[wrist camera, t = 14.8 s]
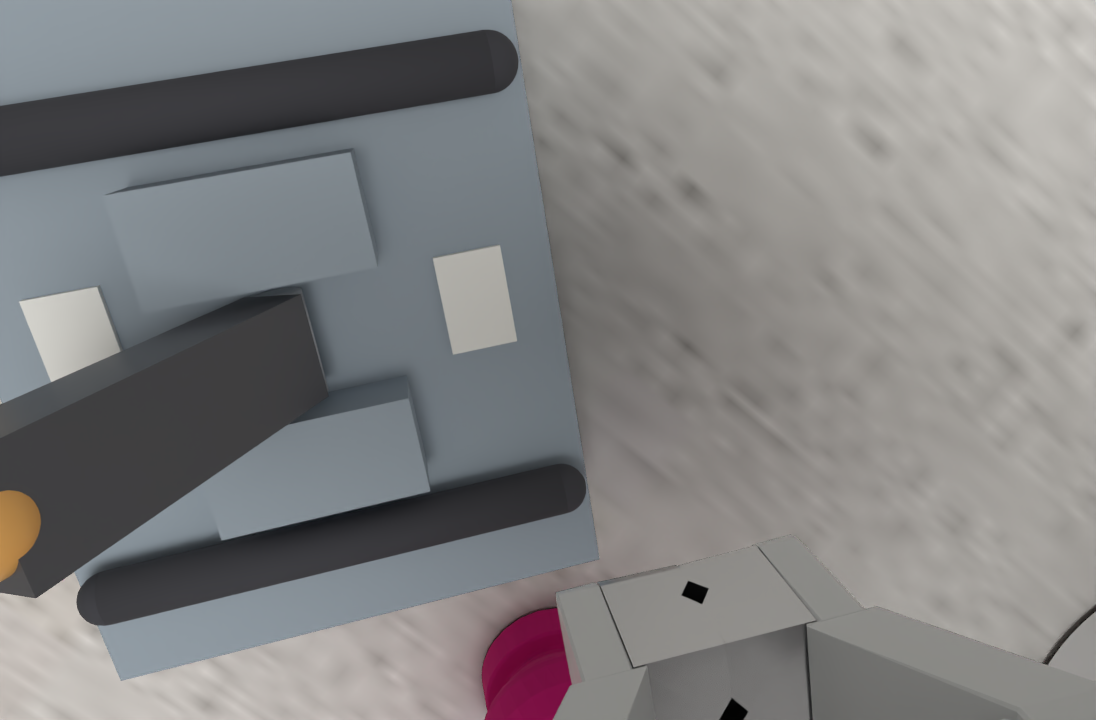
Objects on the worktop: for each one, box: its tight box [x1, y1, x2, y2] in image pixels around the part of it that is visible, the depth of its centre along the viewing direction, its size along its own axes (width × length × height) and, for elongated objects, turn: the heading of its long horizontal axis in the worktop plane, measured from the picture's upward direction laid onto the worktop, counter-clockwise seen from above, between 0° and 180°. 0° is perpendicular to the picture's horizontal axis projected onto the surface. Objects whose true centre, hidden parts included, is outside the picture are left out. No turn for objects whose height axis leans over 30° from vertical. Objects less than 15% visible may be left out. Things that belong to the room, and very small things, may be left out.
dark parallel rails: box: [0, 30, 586, 626], centre depth 22 cm, size 16×15×2 cm
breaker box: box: [0, 0, 599, 681], centre depth 25 cm, size 16×20×8 cm
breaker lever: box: [0, 287, 329, 598], centre depth 18 cm, size 2×3×11 cm
